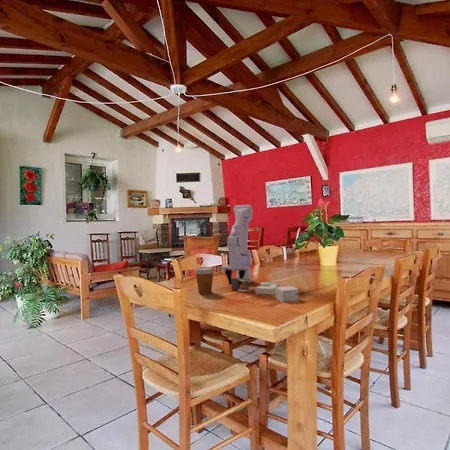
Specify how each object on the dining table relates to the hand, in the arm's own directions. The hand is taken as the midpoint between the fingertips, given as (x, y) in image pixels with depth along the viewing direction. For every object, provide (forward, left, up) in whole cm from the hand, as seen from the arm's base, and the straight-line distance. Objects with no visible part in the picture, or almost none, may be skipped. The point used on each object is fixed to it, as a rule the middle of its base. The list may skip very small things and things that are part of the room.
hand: (235, 284), depth 172 cm
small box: (+19, +29, -2) cm, 35 cm away
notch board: (+3, +18, -2) cm, 18 cm away
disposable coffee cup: (+13, -12, -2) cm, 18 cm away
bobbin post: (+4, +6, -2) cm, 7 cm away
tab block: (0, 0, -2) cm, 2 cm away
